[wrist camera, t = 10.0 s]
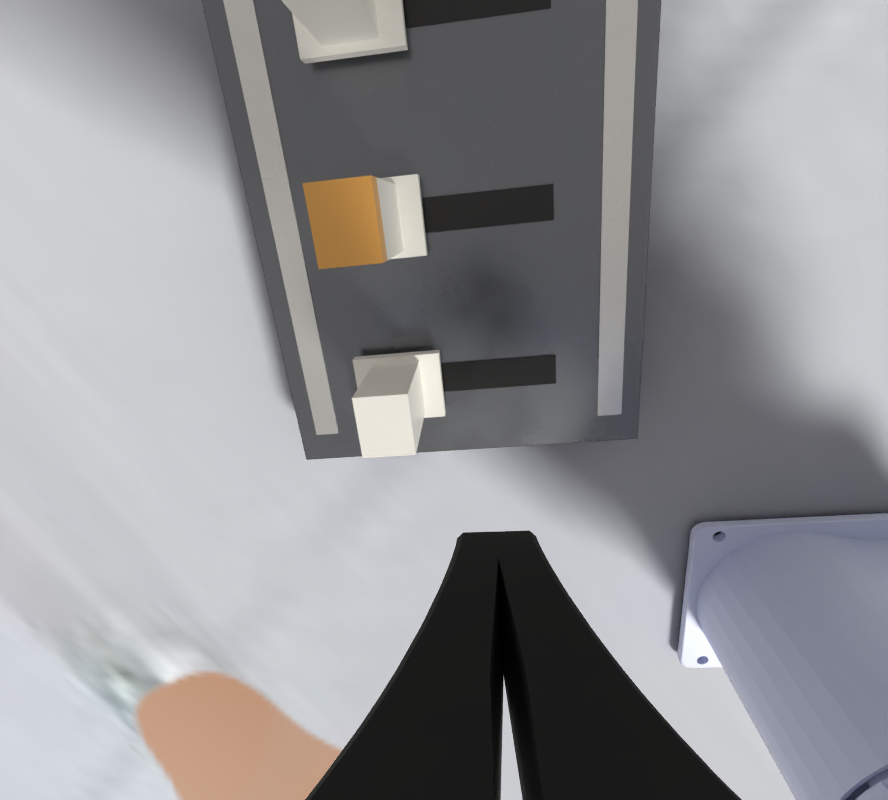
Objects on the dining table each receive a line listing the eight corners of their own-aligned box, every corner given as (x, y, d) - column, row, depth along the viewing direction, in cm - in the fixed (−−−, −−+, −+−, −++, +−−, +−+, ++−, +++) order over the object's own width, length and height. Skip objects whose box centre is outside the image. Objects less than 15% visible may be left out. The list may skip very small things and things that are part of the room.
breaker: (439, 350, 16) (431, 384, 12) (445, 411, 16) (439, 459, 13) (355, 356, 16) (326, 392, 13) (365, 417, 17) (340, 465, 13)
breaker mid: (418, 174, 14) (399, 161, 10) (427, 254, 14) (413, 269, 11) (324, 185, 14) (271, 176, 10) (337, 263, 15) (292, 280, 11)
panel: (642, -128, 13) (671, -186, 11) (620, 415, 19) (637, 439, 17) (217, -60, 14) (177, -103, 12) (322, 436, 20) (306, 460, 18)
